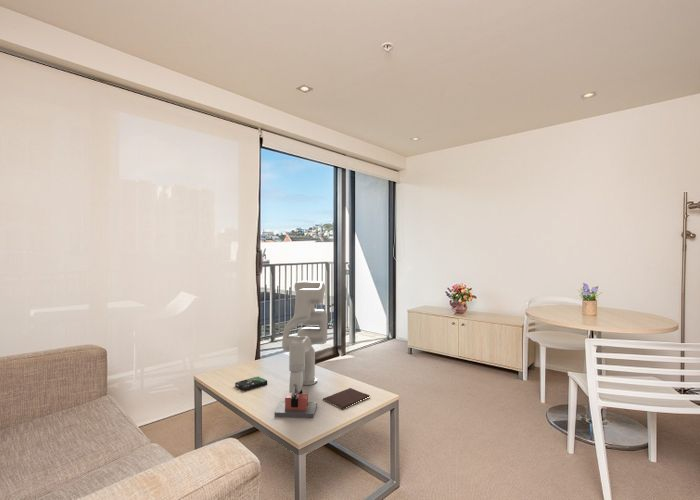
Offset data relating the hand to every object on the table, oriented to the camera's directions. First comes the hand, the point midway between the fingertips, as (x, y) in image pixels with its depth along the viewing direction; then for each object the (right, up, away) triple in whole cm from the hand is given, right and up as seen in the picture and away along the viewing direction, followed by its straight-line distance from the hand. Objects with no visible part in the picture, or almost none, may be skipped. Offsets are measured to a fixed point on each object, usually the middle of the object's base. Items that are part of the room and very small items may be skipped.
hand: (296, 402), depth 167 cm
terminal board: (0, -4, 0) cm, 4 cm away
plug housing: (0, -2, 0) cm, 2 cm away
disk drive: (-30, -5, +32) cm, 44 cm away
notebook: (+24, -5, +15) cm, 28 cm away
